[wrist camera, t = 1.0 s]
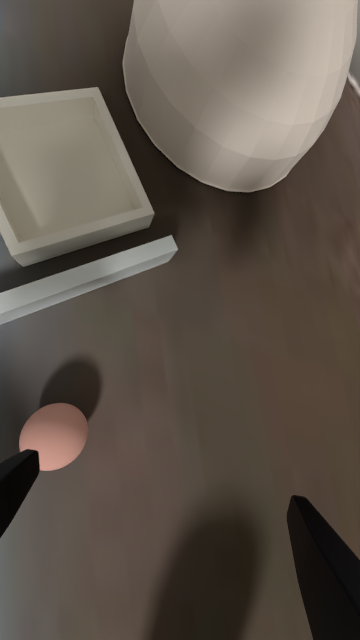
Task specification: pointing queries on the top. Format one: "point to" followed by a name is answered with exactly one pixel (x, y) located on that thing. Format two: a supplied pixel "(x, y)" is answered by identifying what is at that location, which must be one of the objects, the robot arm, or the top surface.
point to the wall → (83, 279)
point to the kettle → (237, 82)
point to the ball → (55, 435)
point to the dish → (64, 176)
